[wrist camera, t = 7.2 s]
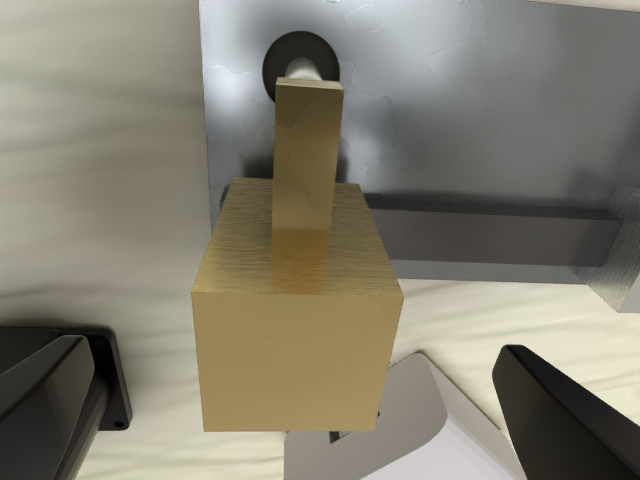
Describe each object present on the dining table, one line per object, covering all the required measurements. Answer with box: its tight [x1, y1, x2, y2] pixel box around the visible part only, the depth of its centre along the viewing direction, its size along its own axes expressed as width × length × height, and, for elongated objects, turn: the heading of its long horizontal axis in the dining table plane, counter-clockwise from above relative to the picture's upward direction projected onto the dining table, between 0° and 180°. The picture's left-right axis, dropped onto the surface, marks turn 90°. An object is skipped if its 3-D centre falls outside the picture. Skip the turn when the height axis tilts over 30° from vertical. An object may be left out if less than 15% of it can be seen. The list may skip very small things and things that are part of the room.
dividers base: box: [199, 0, 640, 313], centre depth 14 cm, size 10×20×4 cm, turn 85°
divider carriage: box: [191, 58, 404, 432], centre depth 11 cm, size 8×4×7 cm, turn 176°
